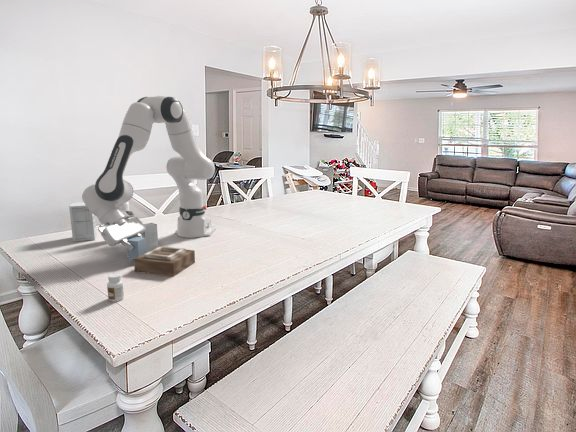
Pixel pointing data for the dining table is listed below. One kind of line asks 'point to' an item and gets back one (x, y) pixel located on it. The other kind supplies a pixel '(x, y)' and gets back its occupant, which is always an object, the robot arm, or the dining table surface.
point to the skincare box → (151, 236)
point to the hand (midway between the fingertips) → (138, 246)
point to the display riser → (165, 261)
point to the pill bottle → (115, 288)
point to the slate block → (136, 247)
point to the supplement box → (82, 222)
